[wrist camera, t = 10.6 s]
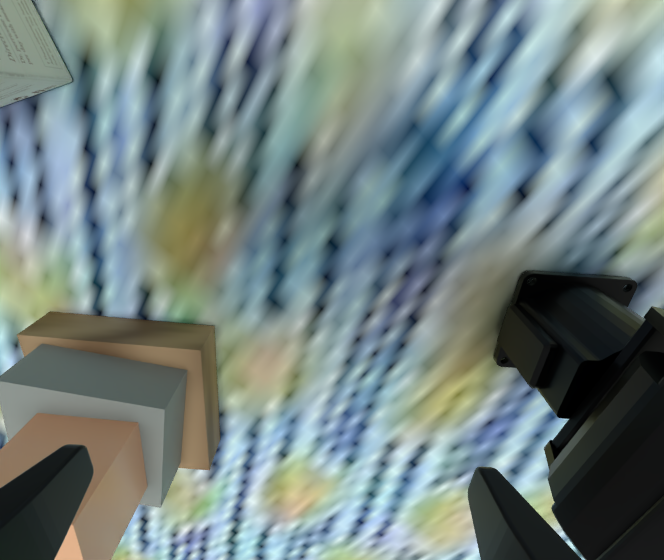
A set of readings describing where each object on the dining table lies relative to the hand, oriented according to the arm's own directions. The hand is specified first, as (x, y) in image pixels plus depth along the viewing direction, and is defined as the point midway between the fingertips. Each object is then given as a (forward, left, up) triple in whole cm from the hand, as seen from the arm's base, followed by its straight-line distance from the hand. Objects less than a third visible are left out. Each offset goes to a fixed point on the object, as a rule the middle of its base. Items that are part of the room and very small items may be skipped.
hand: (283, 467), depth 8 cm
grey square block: (+11, +10, -10) cm, 18 cm away
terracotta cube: (+11, +10, -8) cm, 16 cm away
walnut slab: (+11, +10, -14) cm, 20 cm away
